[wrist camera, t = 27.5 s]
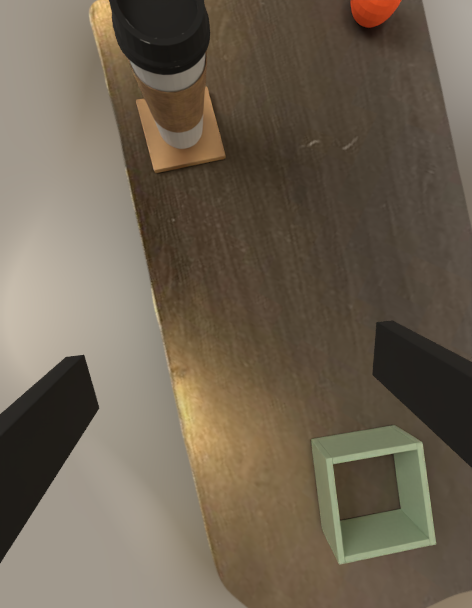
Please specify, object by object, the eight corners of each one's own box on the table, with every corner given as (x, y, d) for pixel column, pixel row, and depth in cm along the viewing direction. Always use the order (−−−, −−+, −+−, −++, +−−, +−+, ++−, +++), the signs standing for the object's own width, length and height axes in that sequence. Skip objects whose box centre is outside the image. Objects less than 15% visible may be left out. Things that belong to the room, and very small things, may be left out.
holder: (321, 530, 36) (339, 564, 31) (310, 438, 36) (325, 458, 31) (406, 513, 37) (436, 544, 32) (394, 424, 37) (422, 442, 32)
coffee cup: (180, 85, 36) (155, -79, 21) (224, 130, 36) (231, -1, 21) (136, 126, 35) (77, -14, 20) (181, 170, 35) (157, 66, 20)
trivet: (155, 173, 36) (154, 170, 35) (137, 104, 36) (135, 99, 35) (225, 159, 37) (225, 155, 36) (207, 91, 37) (207, 86, 36)
